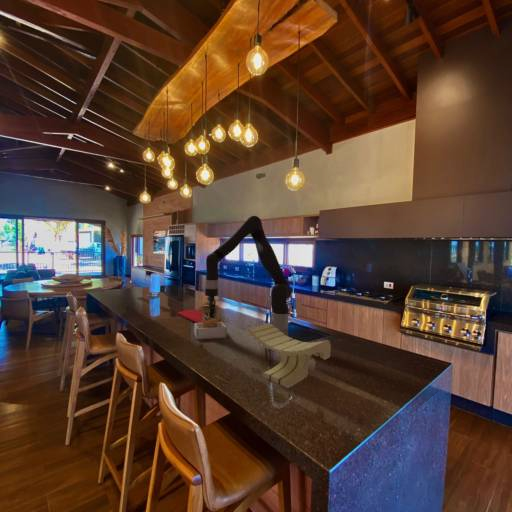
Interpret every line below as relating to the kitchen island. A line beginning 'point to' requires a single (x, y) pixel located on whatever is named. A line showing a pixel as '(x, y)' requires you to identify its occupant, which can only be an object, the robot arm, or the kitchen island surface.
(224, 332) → the box
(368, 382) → the kitchen island surface
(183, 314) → the red flat case
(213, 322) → the candy box
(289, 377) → the slatted curved stool
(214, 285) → the robot arm
